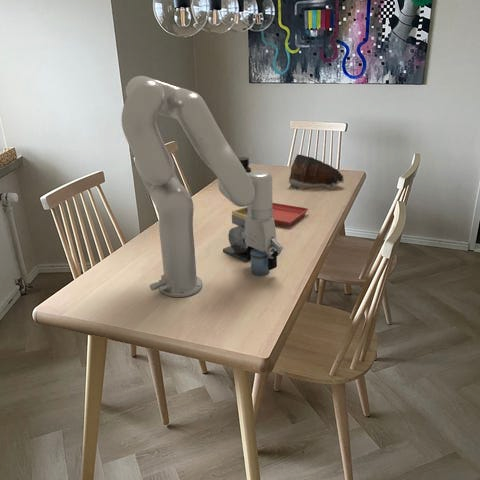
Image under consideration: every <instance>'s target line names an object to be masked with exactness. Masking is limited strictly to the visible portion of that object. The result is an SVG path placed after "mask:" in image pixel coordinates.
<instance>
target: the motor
mask: <svg viewBox="0 0 480 480" xmlns="http://www.w3.org/2000/svg"><path fill="white" fill-rule="evenodd" d="M247 214H248V209H247V206H245V207H240V208H239V209H235V210H231V224H232V225H236V226H235V227H231V228H230V229H229V231H228V236H227V237H228V242H229V246H226V247H224V248H222V252H223V253H225V254H227V255H230V256H231V257H234V258H236V259H238V260H240V261H242V262H244V263H248V262H251V260H247V248H245V243H244V242H243V238H242V235H241V232H243V231H245V220H246V215H247ZM275 249H276V248H275ZM270 251H271V253H273V251H272V250H270Z"/></svg>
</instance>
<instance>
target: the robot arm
mask: <svg viewBox="0 0 480 480" xmlns="http://www.w3.org/2000/svg"><path fill="white" fill-rule="evenodd" d="M125 96H126V100H125V102H124V104H123V106H122V112H121V127H122V132H123V134H124V137H125V139H126V142H127V143H128V147H130V150H131V152H132V154H133V156H134V167H135V169H136V170H137V172H138V175H139V176H140V179H141V180H142V183H143V185H144V187H145V189H146V191H147V193H148V194H149V197H150V198H151V200H152V202H153V203H154V205H155V207H156V209H157V212H158V228H159V242H160V248H161V259H162V268H163V269H162V271H163V274H162V275H160V279H159V280H158V281H157V282H154V283H150V284H149V288H150V290H151V291H152V292H154V291H155V290H158V291H159V292H160V293H162V294H163V295H166V296H168V297H172V298H182V297H183V298H184V297H189V296H193V295H194V294H196V293H198V292H200V290H201V289H202V288H203V281H202V279H201V278H200V277H199V276H197V267H196V265H197V263H196V252H195V251H196V250H195V239H194V238H195V237H194V224H193V223H194V202H193V199H192V196H191V194H190V192H189V191H188V190H187V189H186V188H185V186H183V185H182V183H181V182H180V180H179V179H178V177H177V174H176V171H175V163H174V159H173V158H172V156H171V154H170V152H169V150H168V148H167V145H166V144H165V142H164V140H163V138H162V135H161V132H160V130H159V127H158V123H157V117H158V115H160V116H164V117H167V118H171V119H174V120H177V121H178V123H179V124H180V126H181V127H182V130H183V131H184V133H185V135H186V136H187V138H188V139H189V142H190V144H191V145H192V146H193V149H194V150H195V152H196V153H197V155H198V156H199V158H200V159H201V160H202V162H203V163H204V164H205V165H206V166H207V167H208V168H209V169H210V170H211V171H212V172H213V174H214V175H215V177H217V179H218V190H219V192H220V194H221V195H222V196H223V197H225V198H226V199H227V200H228V201H229V202H230V203H232V205H234V206H237V207H239V208H244V207H247V209H248V214H247V215H246V220H245V231H243V232H241V235H242V238H243V242H244V243H245V248H247V260H251V255H250V252H251V250H252V249H257V250H259V251H262V252H267V254H268V256H269V257H270V258H268V269H269V270H270V271H271V270H274V269H276V268H277V265H278V256H280V255H281V252H282V250H283V248H284V247H283V246H282V245H281V243H280V242H278V240H277V230H276V225H275V222H274V218H273V206H272V203H273V177H272V174H271V173H270V172H269V171H267V170H253V171H251V172H250V173H247V172H246V170H245V169H244V167H243V165H242V164H241V162H240V161H239V159H238V156H237V155H236V154H235V152H234V150H233V149H232V147H231V145H230V144H229V143H228V141H227V139H226V138H225V136H224V135H223V131H221V129H220V127H219V126H218V124H217V121H216V120H215V118H214V115H213V114H212V113H211V111H210V109H209V107H208V105H207V104H206V102H205V100H204V99H203V97H202V96H201V95H200V94H199V93H197V92H195V91H192V90H190V89H187V88H183V87H179V86H175V85H171V84H169V83H166V82H163V81H161V80H158V79H155V78H152V77H148V76H145V75H137V76H134V77H132V78H131V79H130V80H129V81H128V83H127V85H126V87H125ZM275 248H276V249H275ZM270 250H272V252H271V251H270Z"/></svg>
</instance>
